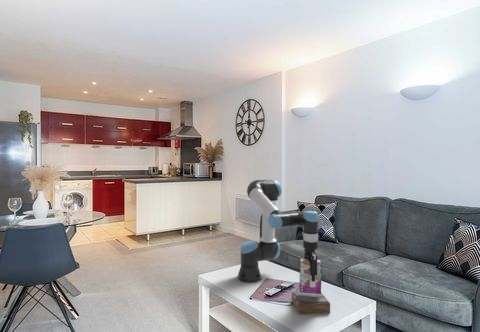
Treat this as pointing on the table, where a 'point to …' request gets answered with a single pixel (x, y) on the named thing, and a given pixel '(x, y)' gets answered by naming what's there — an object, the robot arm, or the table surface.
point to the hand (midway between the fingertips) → (310, 284)
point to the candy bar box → (306, 277)
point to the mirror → (310, 303)
